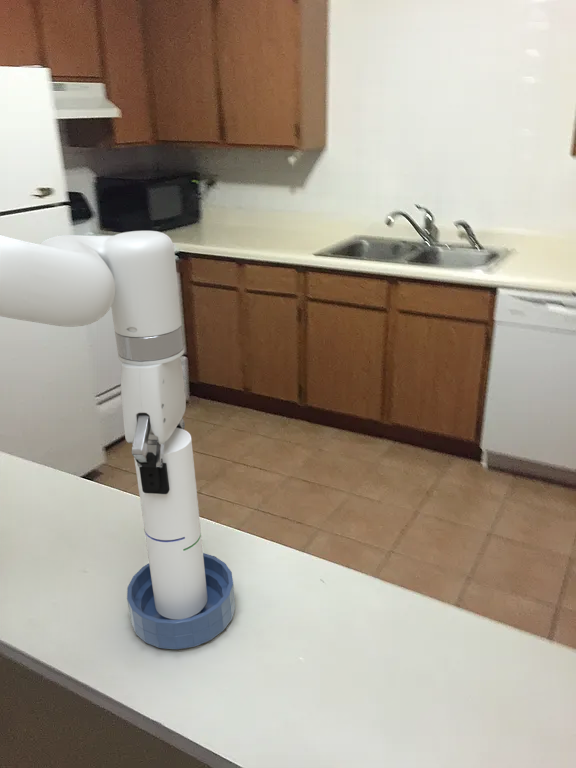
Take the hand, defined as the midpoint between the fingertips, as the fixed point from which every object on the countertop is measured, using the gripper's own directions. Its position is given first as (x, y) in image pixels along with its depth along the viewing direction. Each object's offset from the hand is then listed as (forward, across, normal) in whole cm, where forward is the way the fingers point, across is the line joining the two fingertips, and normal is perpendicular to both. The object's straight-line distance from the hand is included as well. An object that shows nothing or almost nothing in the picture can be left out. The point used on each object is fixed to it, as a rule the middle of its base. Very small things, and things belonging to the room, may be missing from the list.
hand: (166, 474), depth 84 cm
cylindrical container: (+20, 0, 0) cm, 20 cm away
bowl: (+22, 0, 0) cm, 22 cm away
